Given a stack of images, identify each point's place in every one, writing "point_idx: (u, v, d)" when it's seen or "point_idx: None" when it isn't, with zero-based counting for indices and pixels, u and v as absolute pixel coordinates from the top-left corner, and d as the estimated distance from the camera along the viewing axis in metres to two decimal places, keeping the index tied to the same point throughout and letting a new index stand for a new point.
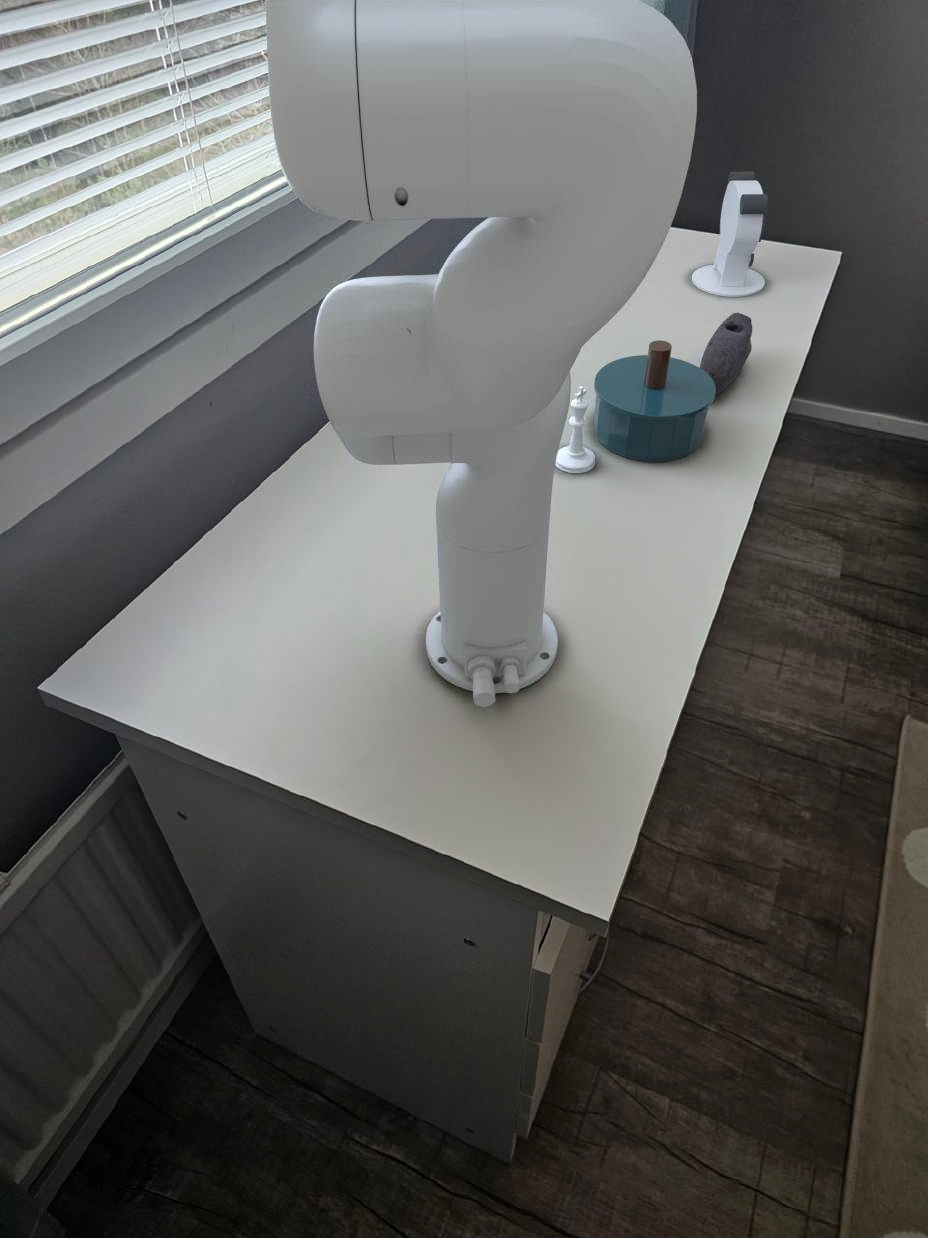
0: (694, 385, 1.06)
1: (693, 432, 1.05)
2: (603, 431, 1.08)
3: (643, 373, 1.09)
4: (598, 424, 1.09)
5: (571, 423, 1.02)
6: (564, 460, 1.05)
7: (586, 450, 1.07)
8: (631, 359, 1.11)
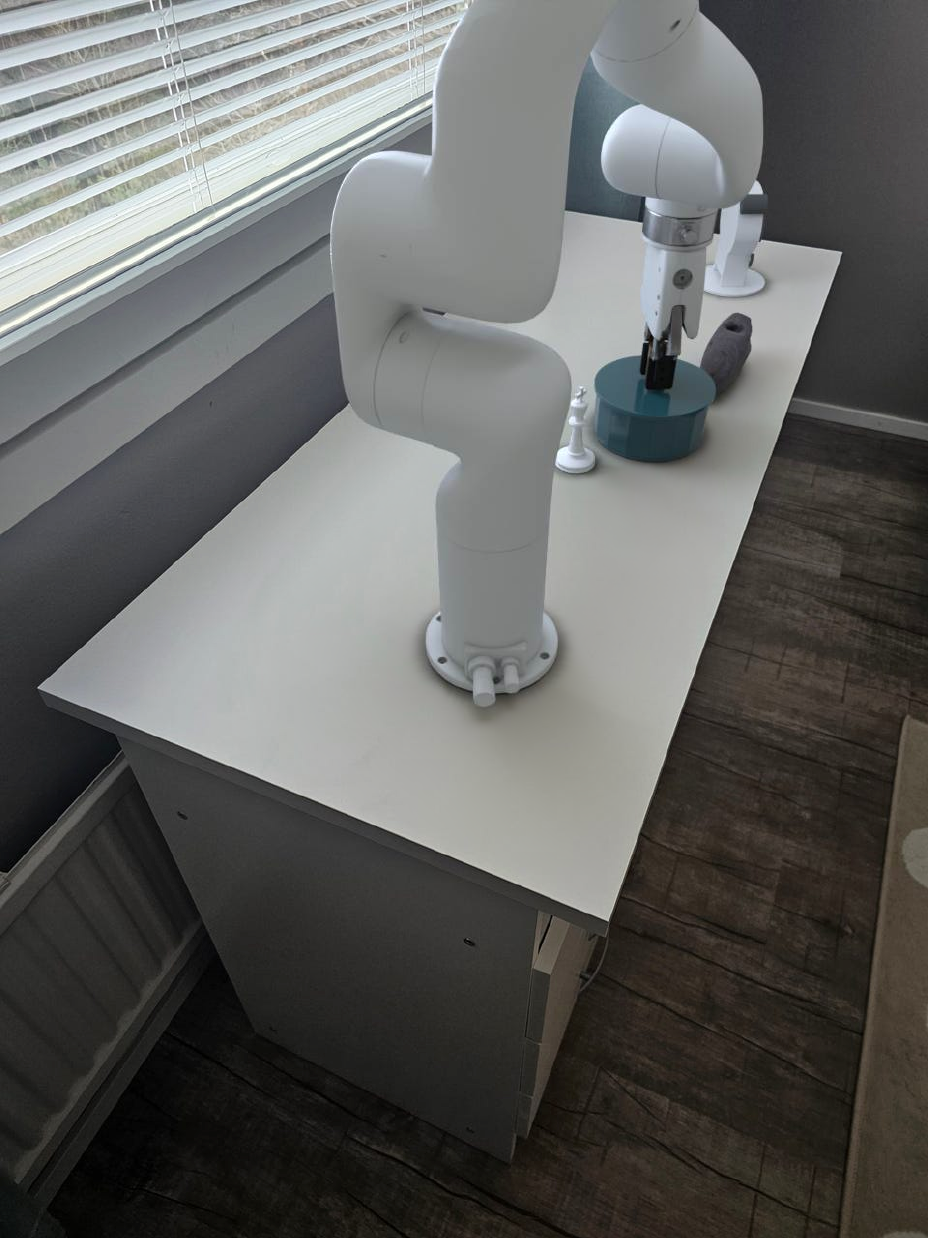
0: (694, 385, 1.06)
1: (693, 432, 1.05)
2: (603, 431, 1.08)
3: None
4: (598, 424, 1.09)
5: (571, 423, 1.02)
6: (564, 460, 1.05)
7: (586, 450, 1.07)
8: (631, 359, 1.11)
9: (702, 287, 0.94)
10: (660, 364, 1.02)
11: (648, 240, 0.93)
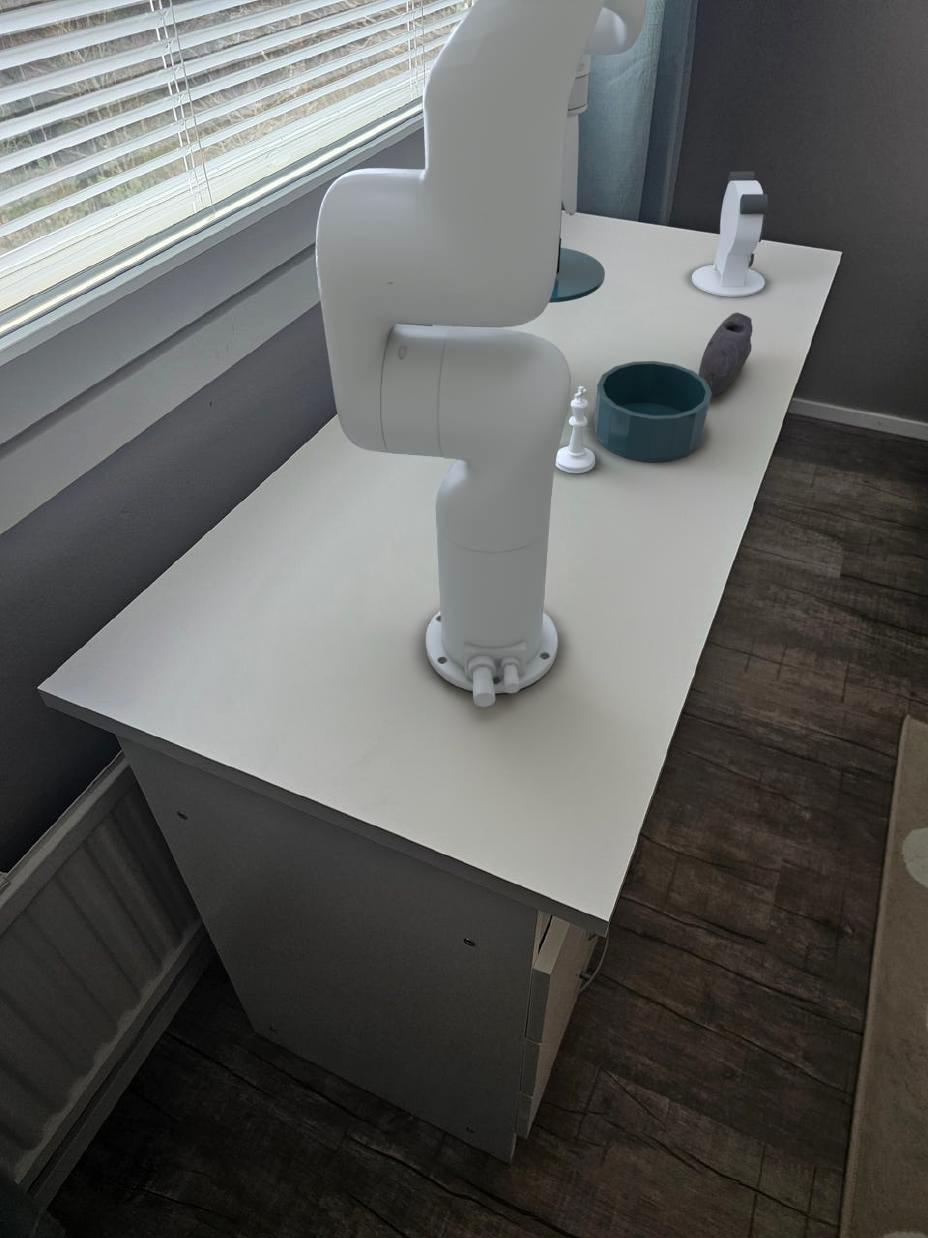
0: (583, 271, 1.05)
1: (693, 432, 1.05)
2: (603, 431, 1.08)
3: None
4: (598, 424, 1.09)
5: (571, 423, 1.02)
6: (564, 460, 1.05)
7: (586, 450, 1.07)
8: None
9: (576, 156, 0.92)
10: None
11: None
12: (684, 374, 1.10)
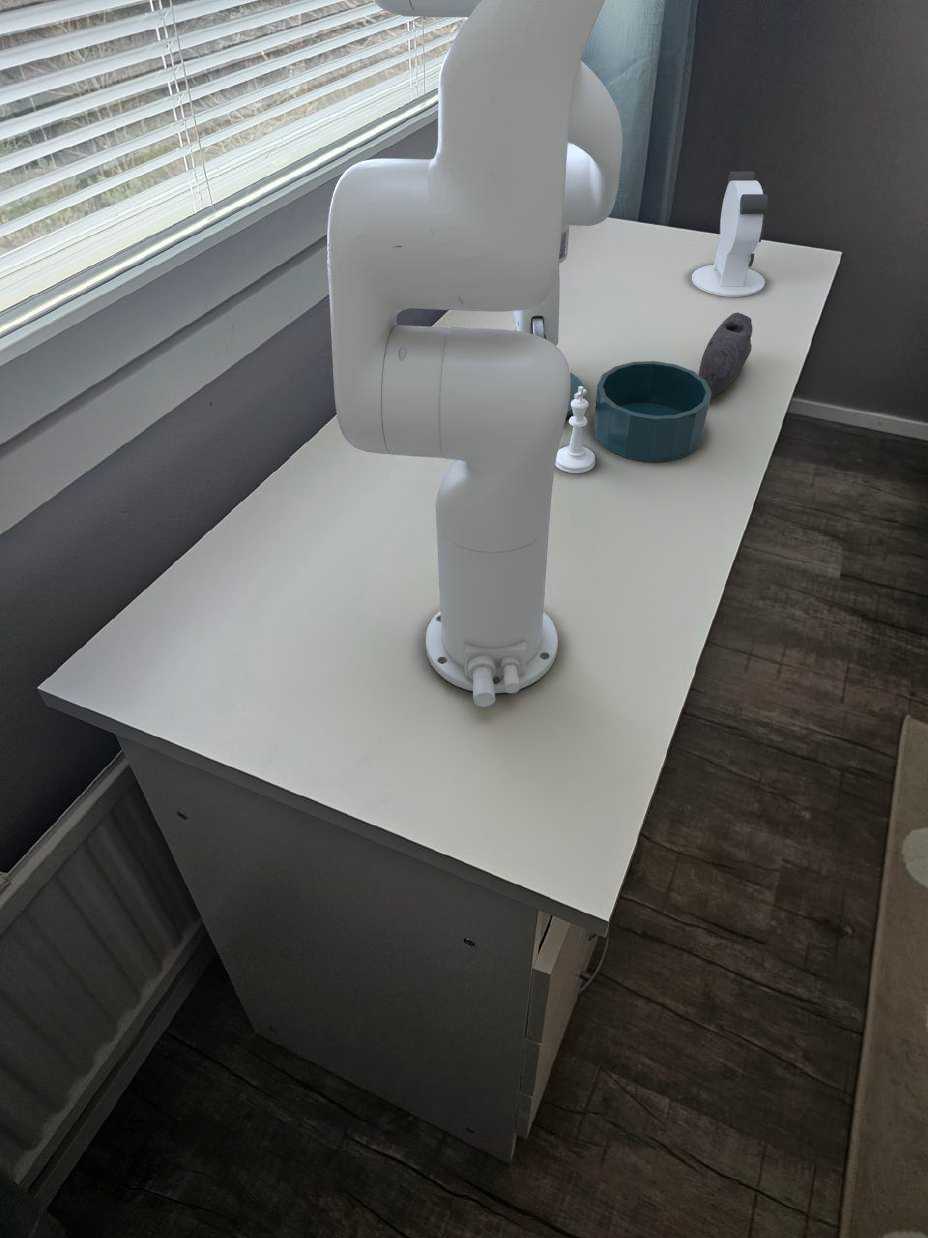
0: None
1: (693, 432, 1.05)
2: (603, 431, 1.08)
3: None
4: (598, 424, 1.09)
5: (571, 423, 1.02)
6: (564, 460, 1.05)
7: (586, 450, 1.07)
8: None
9: (557, 300, 1.03)
10: None
11: None
12: (684, 374, 1.10)
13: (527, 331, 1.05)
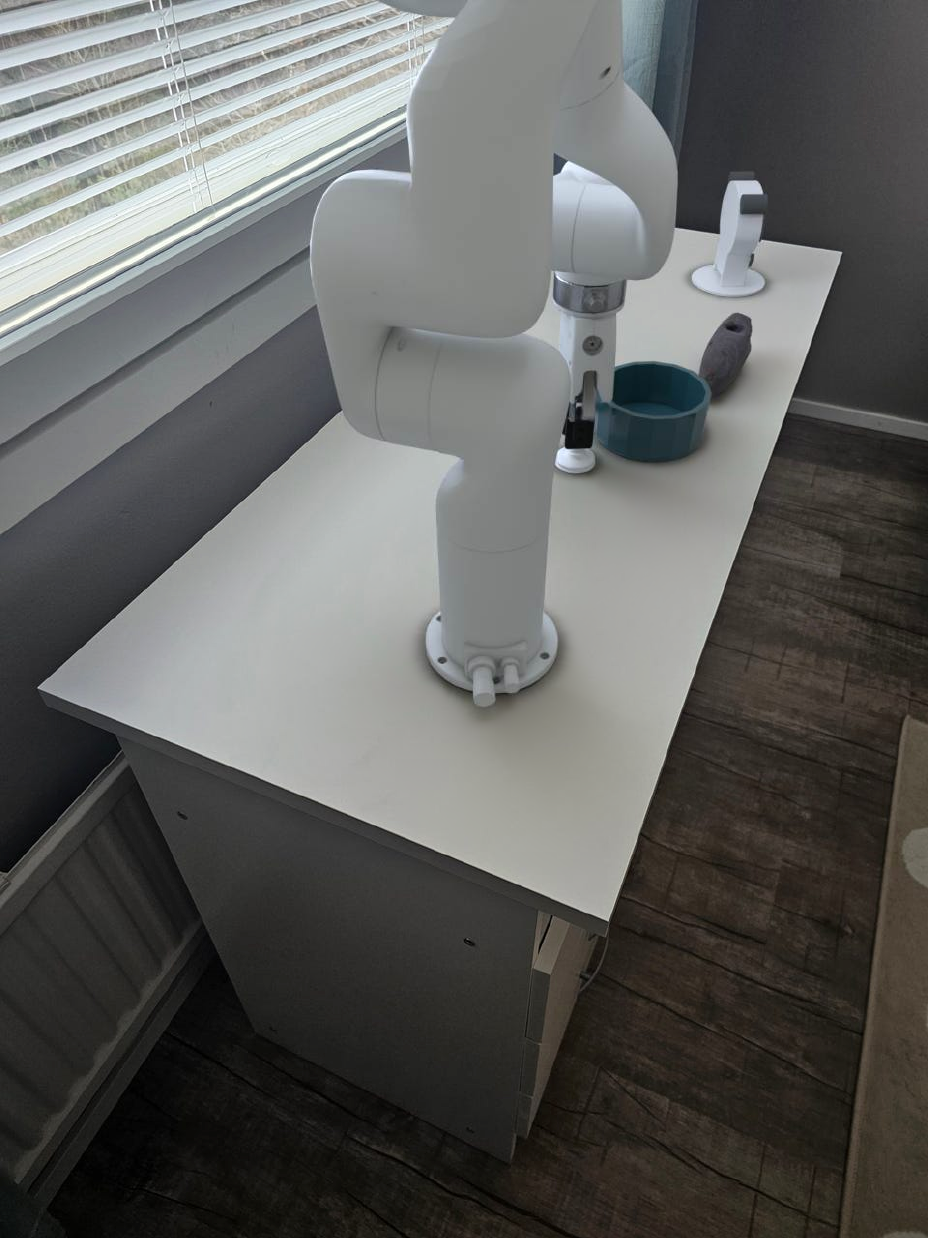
0: None
1: (693, 432, 1.05)
2: (603, 431, 1.08)
3: None
4: (598, 424, 1.09)
5: None
6: (564, 460, 1.05)
7: (586, 450, 1.07)
8: None
9: (613, 353, 0.92)
10: (577, 425, 1.00)
11: (558, 305, 0.91)
12: (684, 374, 1.10)
13: (576, 399, 0.96)
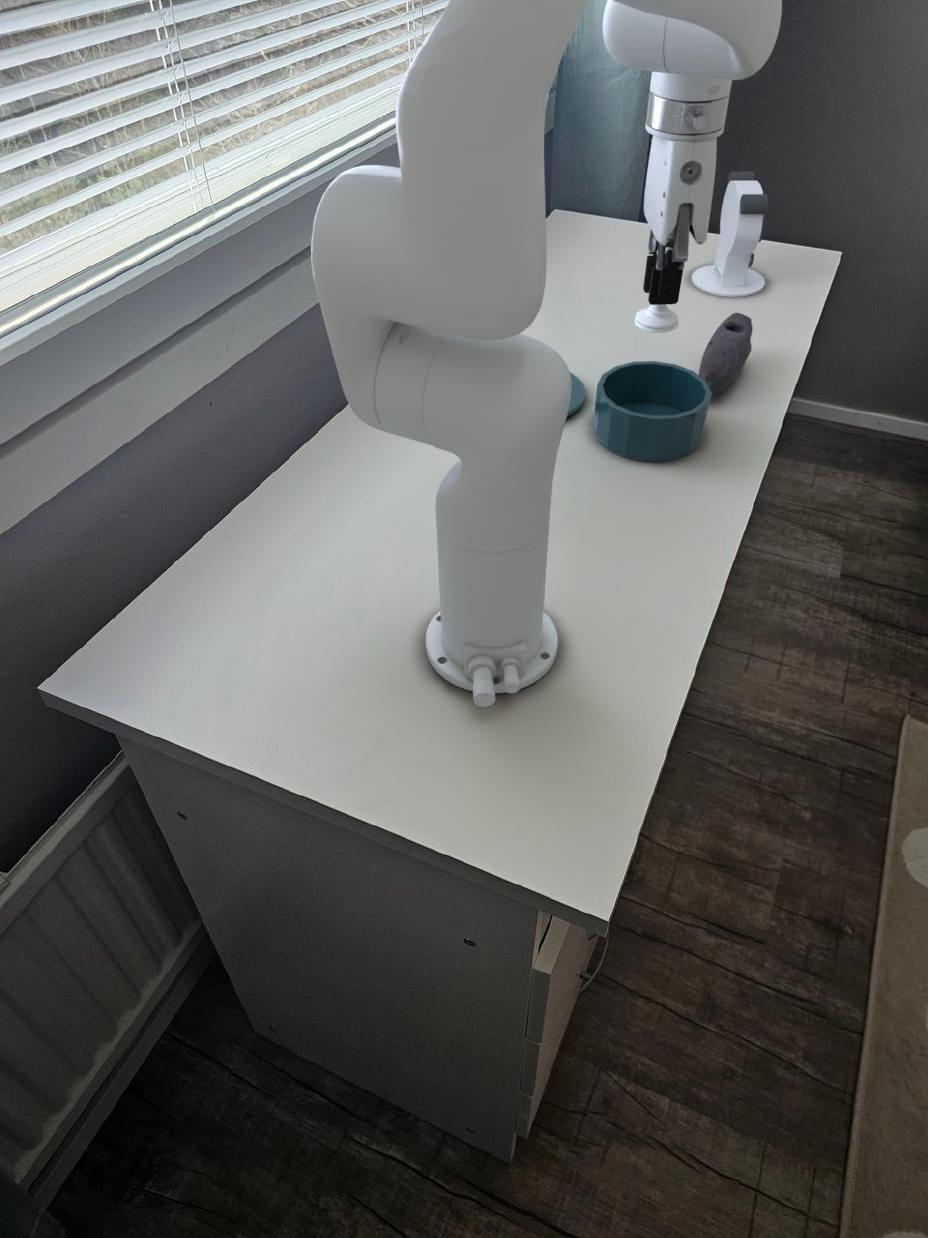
0: None
1: (693, 432, 1.05)
2: (603, 431, 1.08)
3: None
4: (598, 424, 1.09)
5: None
6: (647, 319, 0.99)
7: (669, 310, 1.00)
8: None
9: (712, 182, 0.86)
10: (665, 274, 0.94)
11: (653, 130, 0.85)
12: (684, 374, 1.10)
13: (668, 239, 0.90)
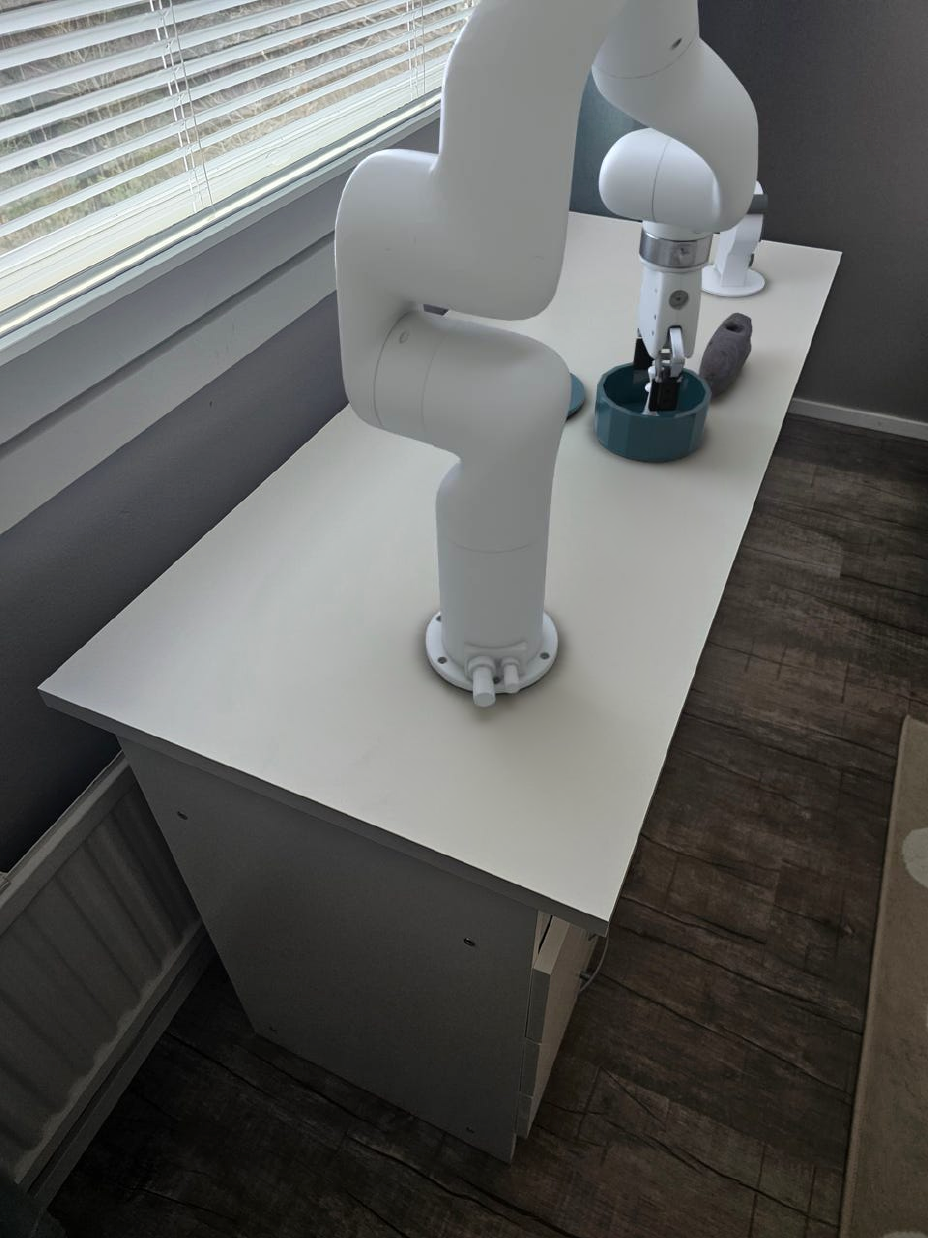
0: None
1: (693, 432, 1.05)
2: (603, 431, 1.08)
3: None
4: (598, 424, 1.09)
5: (648, 389, 1.07)
6: None
7: None
8: None
9: (698, 308, 0.95)
10: (664, 386, 1.00)
11: (645, 261, 0.95)
12: (684, 374, 1.10)
13: (662, 341, 0.97)
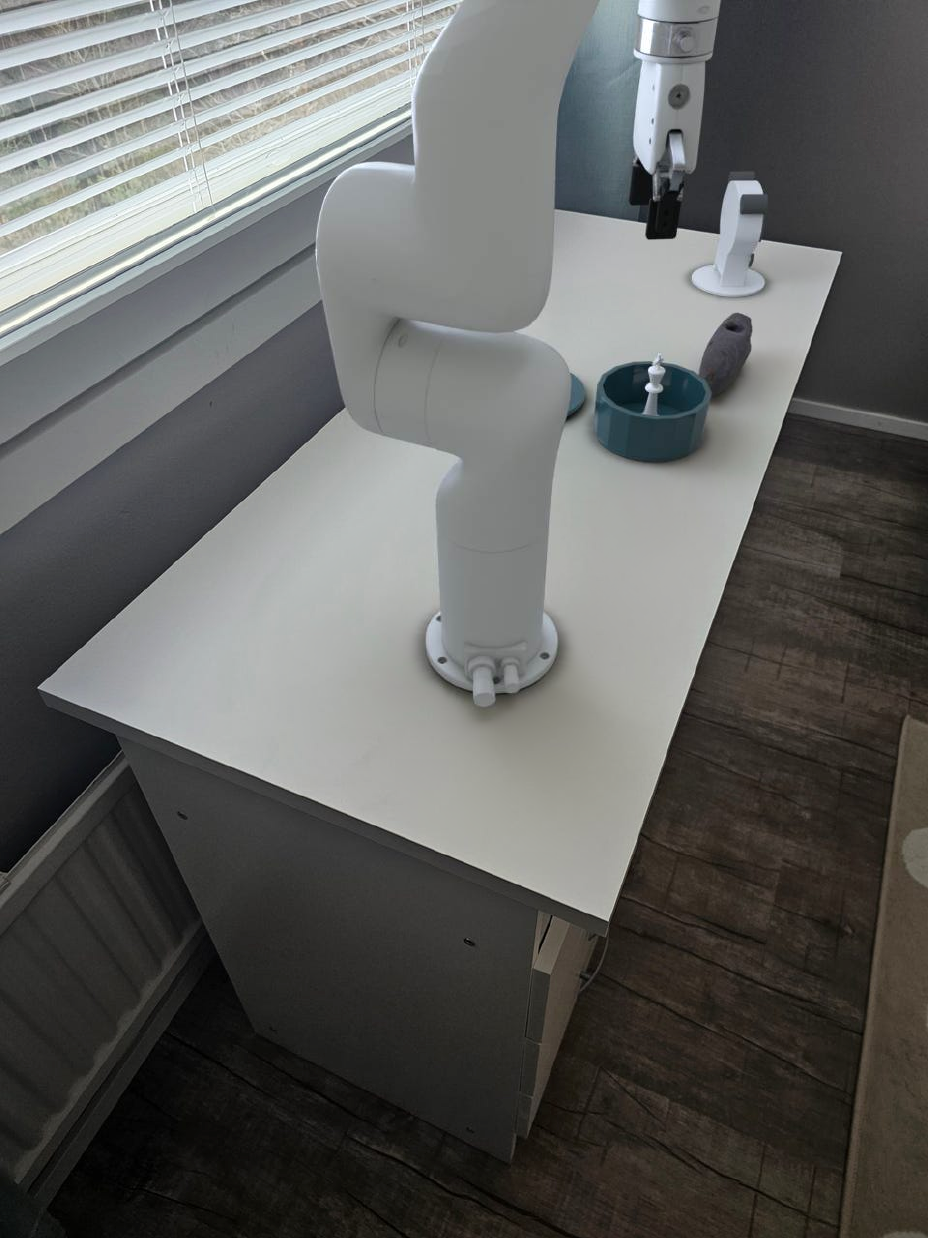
0: None
1: (693, 432, 1.05)
2: (603, 431, 1.08)
3: None
4: (598, 424, 1.09)
5: (648, 389, 1.07)
6: None
7: None
8: None
9: (700, 107, 0.85)
10: (663, 206, 0.90)
11: (641, 54, 0.85)
12: (684, 374, 1.10)
13: (661, 150, 0.87)
